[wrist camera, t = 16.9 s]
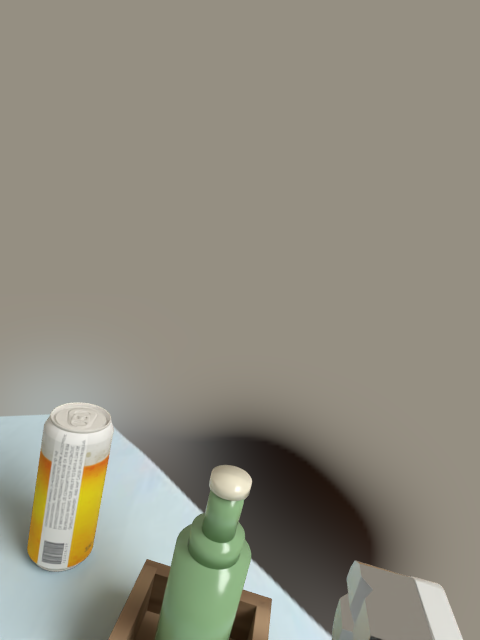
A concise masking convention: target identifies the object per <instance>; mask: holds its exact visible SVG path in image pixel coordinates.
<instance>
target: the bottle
mask: <svg viewBox="0 0 480 640" xmlns="http://www.w3.org/2000/svg"><path fill="white" fill-rule="evenodd" d="M251 484H252V479H251V477H250V475H249V474H248V473H247V472H245V471H244V470H242V469H240V468H238V467H234V466H230V465H222V466H218V467H216V468H214V469H213V470H212V473H211V477H210V482H209V486H210V489H211V490H210V494H209V498H208V503H207V507H206V511H205V513H203V514H200V515H199V516H197V517H196V518H195V519H194V521H193V523H192V524H191V525H189V526H187V527H185V528H184V529H183V530H182V531H181V532H180V534H179V535H178V538H177V541H176V545H175V550H174V554H173V559H172V563H171V567H170V572H169V576H168V581H167V585H166V589H165V594H164V598H163V603H162V607H161V612H160V616H159V620H158V625H157V629H156V634H155V638H154V640H229V637H230V633H231V630H232V626H233V623H234V619H235V615H236V612H237V608H238V604H239V601H240V597H241V594H242V590H243V586H244V583H245V579H246V576H247V572H248V568H249V565H250V561H251V551H250V548H249V545H248V544H247V542H246V540H245V533H244V530H243V528H242V526H241V525H240V523H239V517H240V514H241V510H242V506H243V502H244V499H245V498H246V497H247V496H248V495H249V491H250V488H251Z"/></svg>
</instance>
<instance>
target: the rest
mask: <svg viewBox="0 0 480 640" xmlns="http://www.w3.org/2000/svg"><path fill="white" fill-rule="evenodd" d="M169 572H170V566H167V565H164V564H161V563H157V562H154V561H151V560H148V559H147V560H146V562H145V564H144V566H143V568H142V570H141V572H140V574H139V576H138V578H137V581H136V583H135V585H134V587H133V589H132V591H131V593H130V595H129V597H128V599H127V601H126V603H125V606H124V608H123V610H122V612H121V614H120V616H119V618H118V620H117V622H116V624H115V626H114V628H113V631H112V633H111V635H110V637H109V639H108V640H154V638H155V634H156V629H157V625H158V620H159V616H160V612H161V607H162V603H163V598H164V594H165V589H166V585H167V581H168V576H169ZM271 603H272V599H271V598H268V597H264V596H261V595H258V594H255V593H252V592H249V591H246V590H242V594H241V597H240V601H239V604H238V608H237V612H236V615H235V619H234V623H233V626H232V630H231V633H230V637H229V640H268V634H269V624H270V613H271Z"/></svg>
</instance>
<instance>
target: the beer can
mask: <svg viewBox="0 0 480 640" xmlns="http://www.w3.org/2000/svg"><path fill="white" fill-rule="evenodd" d="M113 431H114V428H113V425H112V422H111V416H110V414H109V412H108V411H106V410H105V409H103V408H102V407H99V406H96V405H93V404H88V403H68V404H63V405H60V406H58V407H56V408H55V409H54V410H52V412H51V414H50V417H49V418H48V419H47V421H46V422H45V424H44V430H43V437H42V444H41V452H40V459H39V466H38V473H37V481H36V488H35V495H34V502H33V510H32V517H31V524H30V531H29V539H28V546H27V551H28V554H29V556H30V558H31V559H32V560H33V561H34V562H35V563H36V564H37V565H38V566H39V567H40V568H42V569H45V570H48V571H54V572H59V571H65V570H69V569H71V568H73V567H75V566H77V565H78V564H79V563H80V562H82V561H83V560H84V559H86V558H87V557H88V555H89V554H90V553H91V551H92V548H93V543H94V537H95V532H96V526H97V520H98V515H99V509H100V504H101V498H102V493H103V487H104V481H105V476H106V470H107V465H108V459H109V453H110V448H111V442H112V437H113Z"/></svg>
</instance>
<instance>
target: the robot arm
mask: <svg viewBox="0 0 480 640" xmlns="http://www.w3.org/2000/svg"><path fill="white" fill-rule="evenodd" d="M347 585H348V594H346V595H345V596H343V597H342V598H340V600H339V604H338V606H337V610H336V613H335V618H334V624H333V630H332V640H463V639H462V636H461V633H460V630H459V628H458V626H457V623H456V620H455V617H454V615H453V613H452V610H451V607H450V605H449V602H448V599H447V597H446V594H445V591H444V589H443V588H442V587H441V586H440V585H439V584H438V583H434V582H430V581H427V580H423V579H419V578H416V577H411V576H410V577H408V576H405V575H401V574H398V573H395V572H391V571H388V570H385V569H381V568H378V567H374V566H371V565H368V564H365V563H361V562H358V561H354V563H353V565H352V567H351V569H350V571H349V574H348V577H347Z"/></svg>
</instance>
